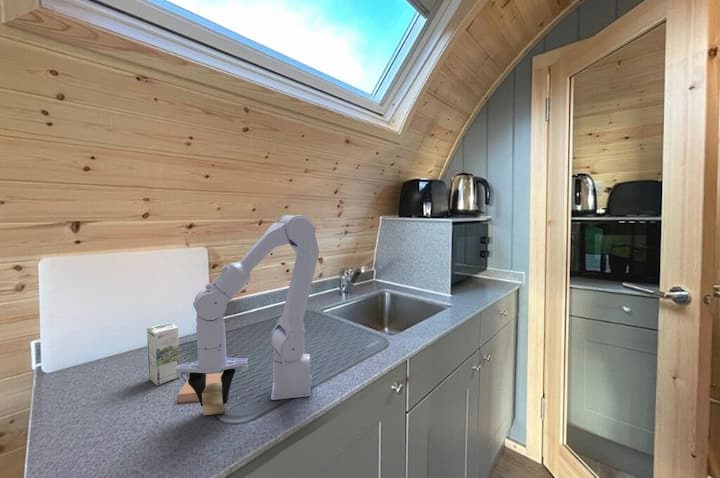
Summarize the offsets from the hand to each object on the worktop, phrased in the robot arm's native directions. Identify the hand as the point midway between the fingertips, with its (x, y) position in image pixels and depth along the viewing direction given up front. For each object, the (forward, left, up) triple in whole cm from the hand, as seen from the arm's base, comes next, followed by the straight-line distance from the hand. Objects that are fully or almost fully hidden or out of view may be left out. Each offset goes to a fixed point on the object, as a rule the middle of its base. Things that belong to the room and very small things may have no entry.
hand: (214, 402), depth 73 cm
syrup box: (+17, -18, -3) cm, 25 cm away
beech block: (0, 0, -2) cm, 2 cm away
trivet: (+5, -10, -3) cm, 12 cm away
